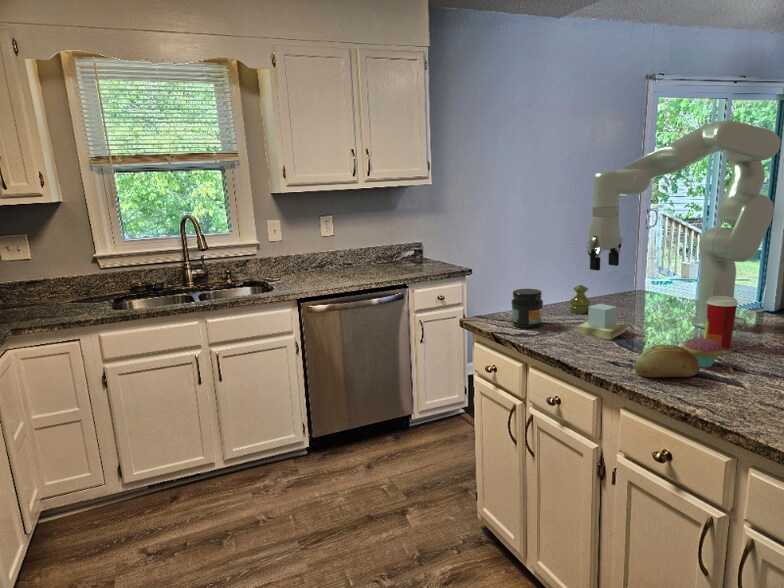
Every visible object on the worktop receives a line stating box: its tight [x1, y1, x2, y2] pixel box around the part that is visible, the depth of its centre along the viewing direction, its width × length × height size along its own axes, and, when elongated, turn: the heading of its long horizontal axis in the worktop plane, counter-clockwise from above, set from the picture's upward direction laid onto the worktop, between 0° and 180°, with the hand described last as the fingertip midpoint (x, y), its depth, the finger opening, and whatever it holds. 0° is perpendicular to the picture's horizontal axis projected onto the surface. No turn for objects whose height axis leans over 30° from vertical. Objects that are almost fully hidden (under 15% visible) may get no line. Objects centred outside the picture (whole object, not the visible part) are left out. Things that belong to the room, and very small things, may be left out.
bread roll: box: [634, 344, 701, 378], centre depth 127 cm, size 10×15×8 cm, turn 84°
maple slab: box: [576, 320, 627, 340], centre depth 165 cm, size 11×11×3 cm
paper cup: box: [706, 296, 739, 350], centre depth 145 cm, size 8×8×14 cm
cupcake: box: [683, 320, 723, 368], centre depth 133 cm, size 9×8×12 cm
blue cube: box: [587, 303, 618, 329], centre depth 164 cm, size 6×6×6 cm
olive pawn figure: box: [569, 284, 592, 315], centre depth 190 cm, size 7×7×10 cm
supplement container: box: [510, 288, 544, 329], centre depth 176 cm, size 10×10×12 cm
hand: (604, 267), depth 161 cm, fingers open, 9 cm apart
